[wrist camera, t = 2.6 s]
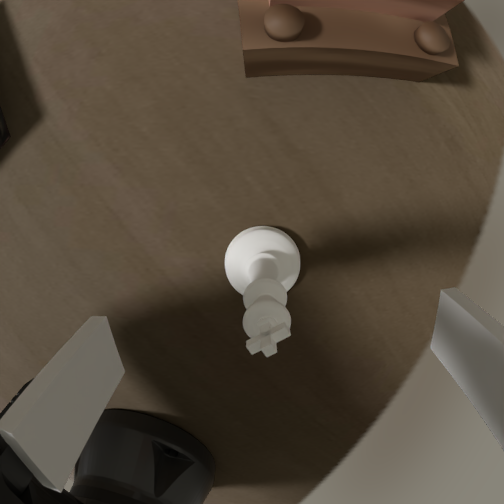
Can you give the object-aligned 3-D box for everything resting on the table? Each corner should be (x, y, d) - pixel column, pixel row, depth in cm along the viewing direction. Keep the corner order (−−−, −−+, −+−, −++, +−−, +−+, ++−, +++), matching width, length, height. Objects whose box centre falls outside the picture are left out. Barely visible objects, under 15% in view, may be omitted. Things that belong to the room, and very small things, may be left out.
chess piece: (210, 250, 20) (172, 328, 10) (276, 211, 19) (298, 260, 10) (249, 309, 21) (246, 414, 12) (313, 274, 20) (356, 364, 11)
